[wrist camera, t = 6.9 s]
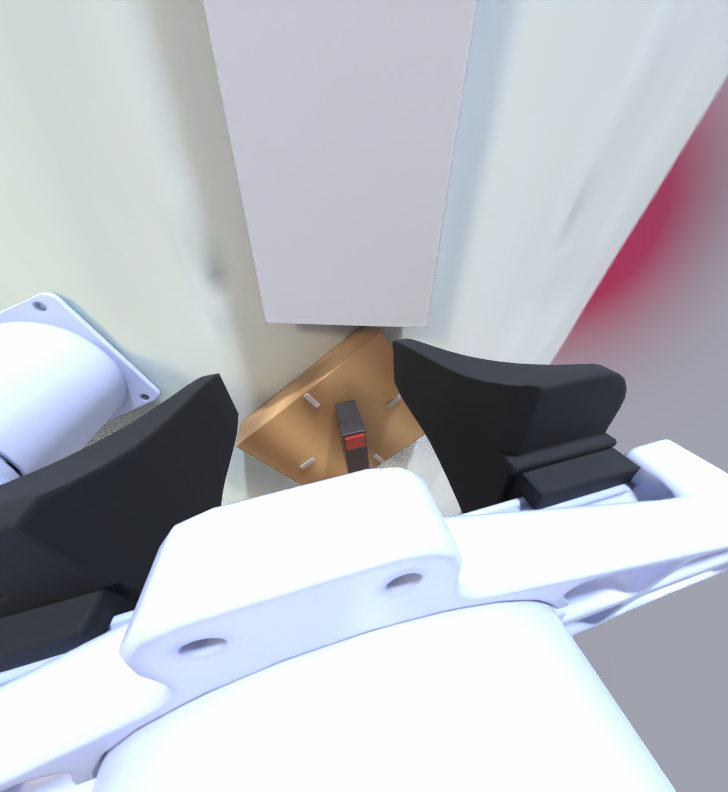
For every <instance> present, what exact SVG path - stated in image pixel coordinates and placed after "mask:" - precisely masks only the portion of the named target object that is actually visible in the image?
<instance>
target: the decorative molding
mask: <svg viewBox="0 0 728 792" xmlns="http://www.w3.org/2000/svg"><path fill="white" fill-rule="evenodd" d="M203 5H204V10H205V16H206V21H207V26H208V31H209V36H210V41H211V46H212V51H213V56H214V61H215V67H216V72H217V77H218V82H219V87H220V92H221V97H222V102H223V107H224V113H225V118H226V123H227V128H228V133H229V138H230V143H231V148H232V153H233V159H234V164H235V169H236V174H237V179H238V184H239V189H240V194H241V199H242V204H243V210H244V215H245V220H246V225H247V230H248V235H249V240H250V245H251V250H252V256H253V261H254V266H255V271H256V276H257V281H258V286H259V291H260V296H261V302H262V307H263V312H264V317H265V322H266V323H289V324H322V325H353V326H386V327H418V328H427V322H428V316H429V310H430V303H431V297H432V290H433V284H434V277H435V271H436V264H437V258H438V252H439V245H440V239H441V232H442V226H443V219H444V213H445V206H446V200H447V194H448V187H449V181H450V174H451V168H452V161H453V155H454V148H455V142H456V136H457V129H458V123H459V116H460V110H461V103H462V97H463V90H464V84H465V78H466V71H467V65H468V58H469V52H470V45H471V39H472V32H473V26H474V20H475V13H476V7H477V0H203Z"/></svg>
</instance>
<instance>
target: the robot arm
mask: <svg viewBox="0 0 728 792" xmlns="http://www.w3.org/2000/svg"><path fill="white" fill-rule="evenodd" d="M39 302H40V303H42V304H44V305H45V307H46V309H44V308H42V307H41V306H40V305H39ZM393 364H394V382H395V385H396V387H397V389H398V391H399V393H400V396H401V398H402V399H403V401H404V402H405V404H406V406H407V407H408V409H409V410H410V412H411V413H412V415H413V416H414V418H415V419H416V421H417V422H418V424H419V425H420V427H421V428H422V430H423V431H424V433H425V434H426V436H427V438H428V439H429V441H430V443H431V445H432V447H433V449H434V451H435V453H436V455H437V457H438V459H439V461H440V463H441V466H442V468H443V470H444V472H445V474H446V476H447V478H448V480H449V483H450V485H451V487H452V490H453V492H454V494H455V496H456V499H457V501H458V503H459V506H460V508H461V511H462V513H463V514H461V515H458V516H449V517H443V516H442V514H441V512H440V510H439V508H438V506H437V504H436V502H435V500H434V498H433V497H432V495H431V493H430V491H429V489H428V487H427V485H426V483H425V481H424V479H423V477H421V476H419V475H417V474H414V473H412V472H410V471H407V470H405V469H403V468H400V467H389V468H375V469H365V470H361V471H357V472H353V473H349V474H345V475H341V476H337V477H333V478H329V479H326V480H322V481H318V482H314V483H310V484H306V485H302V486H298V487H294V488H290V489H286V490H282V491H278V492H274V493H270V494H266V495H262V496H258V497H254V498H250V499H246V500H243V501H239V502H235V503H231V504H227V505H223V506H221V501H222V494H223V488H224V483H225V479H226V475H227V471H228V467H229V463H230V459H231V455H232V452H233V448H234V444H235V440H236V435H237V427H238V412H237V410H236V408H235V406H234V404H233V402H232V400H231V397H230V395H229V393H228V391H227V389H226V387H225V385H224V383H223V381H222V379H221V377H220V375H219V374H214V375H208V376H203V377H201V378H199V379H197V380H195V381H193V382H192V383H190V384H189V385H187V386H186V387H184V388H183V389H181V390H180V391H179V392H177V393H176V394H174V395H173V396H171V397H170V398H169V399H167V400H166V401H164V402H163V403H161V404H160V405H158V406H157V407H155V408H154V409H152V410H151V411H149V412H148V413H146V414H145V415H143V416H142V417H140V418H139V419H137V420H135V421H134V422H132V423H130V424H129V425H127V426H125V427H124V428H122V429H120V430H118V431H117V432H115V433H113V434H111V435H109V436H107V437H106V438H104V439H102V440H100V441H98V442H96V443H94V444H92V445H90V446H88V447H86V448H84V449H83V447H84V446H85V445H86V444H87V443H88V442H89V441H90V440H91V439H92V438H93V437H94V435H95V434H96V433H97V432H98V431H99V430H100V429H101V428H102V427H103V426H104V424H105V423H106V422H108V421H111V420H113V419H115V418H117V417H119V416H121V415H124V414H126V413H128V412H130V411H132V410H135V409H137V408H139V407H141V406H143V405H146V404H148V403H150V402H152V401H154V400H156V399H158V398H159V397H160V395H161V391H160V390H159V389H158V388H157V387H156V386H155V385H154V384H153V383H152V382H151V381H149V380H148V379H147V378H146V377H145V376H144V375H143V374H142V373H141V372H140V371H139V370H138V369H137V368H135V367H134V366H133V365H132V364H131V363H130V362H129V361H128V360H127V359H126V358H125V357H124V356H122V355H121V354H120V353H119V352H118V351H117V350H116V349H115V348H114V347H113V346H112V345H111V344H109V343H108V342H107V341H106V340H105V339H104V338H103V337H102V336H101V335H100V334H99V333H98V332H96V331H95V330H94V329H93V328H92V327H91V326H90V325H89V324H88V323H87V322H86V321H85V320H84V319H82V318H81V317H80V316H79V315H78V314H77V313H76V312H75V311H74V310H73V309H72V308H71V307H69V306H68V305H67V304H66V303H65V302H64V301H63V300H62V299H61V298H60V297H58V296H57V295H55V294H53V293H49V292H45V293H41V294H38V295H36V296H34V297H31V298H29V299H27V300H25V301H23V302H21V303H19V304H17V305H14V306H12V307H10V308H8V309H6V310H4V311H2V312H0V792H676V791H675V789H674V788H673V786H672V785H671V783H670V782H669V780H668V779H667V777H666V776H665V775H664V773H663V772H662V770H661V769H660V767H659V766H658V764H657V763H656V761H655V760H654V758H653V757H652V755H651V754H650V752H649V751H648V749H647V748H646V747H645V745H644V743H643V742H642V740H641V739H640V737H639V736H638V735H637V733H636V732H635V730H634V729H633V727H632V726H631V724H630V723H629V721H628V720H627V718H626V717H625V715H624V714H623V712H622V711H621V709H620V708H619V706H618V705H617V704H616V702H615V700H614V699H613V697H612V696H611V695H610V693H609V692H608V690H607V689H606V687H605V686H604V684H603V683H602V681H601V680H600V678H599V677H598V675H597V674H596V672H595V671H594V669H593V668H592V666H591V665H590V663H589V662H588V661H587V659H586V657H585V656H584V655H583V653H582V652H581V650H580V649H579V647H578V646H577V644H576V643H575V641H574V640H573V638H572V637H571V636H573V635H576V634H578V633H580V632H582V631H585V630H587V629H589V628H592V627H594V626H596V625H599V624H601V623H603V622H605V621H608V620H610V619H612V618H614V617H617V616H619V615H621V614H624V613H626V612H628V611H631V610H633V609H635V608H637V607H640V606H642V605H644V604H647V603H649V602H652V601H654V600H656V599H659V598H661V597H663V596H666V595H668V594H671V593H673V592H676V591H678V590H680V589H683V588H685V587H687V586H690V585H693V584H695V583H697V582H700V581H703V580H705V579H708V578H710V577H713V576H716V575H718V574H721V573H723V572H724V571H726V570H728V474H727V473H725V472H724V471H722V470H720V469H719V468H717V467H715V466H713V465H711V464H710V463H708V462H706V461H705V460H703V459H701V458H699V457H698V456H696V455H694V454H693V453H691V452H689V451H687V450H685V449H684V448H682V447H680V446H679V445H677V444H675V443H674V442H672V441H670V440H661V441H657V442H653V443H650V444H646V445H643V446H639V447H636V448H633V449H631V450H629V451H628V452H626V453H625V454H624V455H622V454H621V453H620V452H618V451H617V450H615V449H614V448H613V447H612V446H615V444H616V443H617V442H616V439H614V438H613V437H611V436H610V435H608V434H607V433H605V432H606V430H607V429H608V427H609V425H610V424H611V422H612V420H613V419H614V417H615V415H616V414H617V412H618V410H619V409H620V407H621V404H622V403H623V401H624V398H625V394H626V383H625V379H624V378H623V377H622V376H621V375H620V374H618V373H616V372H614V371H612V370H610V369H608V368H606V367H603V366H601V365H597V364H575V365H574V364H573V365H536V364H518V363H508V362H498V361H491V360H485V359H479V358H474V357H469V356H465V355H461V354H457V353H453V352H450V351H446V350H443V349H440V348H437V347H434V346H431V345H428V344H425V343H422V342H419V341H415V340H412V339H401V340H395V341H393ZM143 394H144V395H147V396H148V397H149V398H147V397H144V396H143Z"/></svg>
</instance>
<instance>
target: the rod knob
mask: <svg viewBox="0 0 728 792" xmlns="http://www.w3.org/2000/svg"><path fill="white" fill-rule="evenodd" d="M335 409H336V415H337V420H338V426H339V431H340V437H341V442H342V448H343V453H344V459H345V464H346V468H347V472H348V474H349V473H353V472H357V471H361V470H365V469H370V467H369V457H368V448H367V438H366V430H365V427H364V424H363V421H362V419H361V416H360V413H359V410H358V408H357V405H356V402H355V401H349V402H344V403H339V404H335Z"/></svg>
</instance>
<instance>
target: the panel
mask: <svg viewBox="0 0 728 792" xmlns="http://www.w3.org/2000/svg"><path fill="white" fill-rule="evenodd" d="M349 401H355V402H356V405H357V408H358V410H359V413H360V416H361V419H362V421H363V424H364V427H365V430H366V438H367V448H368V457H369V467H370V469H374V468H375V467H377V466H378V465H380V464H382V463H384V462H385V461H386V460H387V459H389V458H390V457H392V456H393V455H395V454H396V453H398V452H399V451H401V450H402V449H404V448H405V447H407V446H408V445H410V444H411V443H413V442H414V441H416V440H417V439H419V438H420V437H422V436H423V435H424V434H425V433H424V431H423V430H422V428H421V427H420V425H419V424H418V422H417V421H416V419H415V418H414V416H413V415H412V413H411V412H410V410H409V409H408V407H407V406H406V404H405V402H404V401H403V399H402V398H401V396H400V393H399V391H398V389H397V387H396V385H395V382H394V364H393V347H392V345H391V344H390V343H389V341H388V340H387V338H386V337H385V336H384V334H383V333H382V332H381V330H380V329H379V328H378V327H377V326H361V327H360V328H359V329H358V330H356V331H355V332H354V333H353V334H351V335H350V336H349V337H348V338H346V339H345V340H344V341H343V342H341V343H340V344H339V345H338V346H336V347H335V348H334V349H333V350H331V351H330V352H329V353H328V354H326V355H325V356H324V357H323V358H321V359H320V360H319V361H318V362H316V363H315V364H314V365H313V366H311V367H310V368H309V369H308V370H306V371H305V372H304V373H303V374H301V375H300V376H299V377H298V378H296V379H295V380H294V381H293V382H291V383H290V384H289V385H288V386H286V387H285V388H284V389H283V390H281V391H280V392H279V393H278V394H276V395H275V396H274V397H273V398H271V399H270V400H269V401H268V402H266V403H265V404H264V405H263V406H261V407H260V408H259V409H258V410H256V411H255V412H254V413H253V414H251V415H250V416H249V417H248V418H246V419H245V420H244V421H242V423H241V427H240V431H239V435H238V439H237V443H236V447H238V448H239V449H241V450H243V451H245V452H246V453H248V454H250V455H252V456H253V457H255V458H257V459H258V460H260V461H262V462H264V463H265V464H267V465H269V466H270V467H272V468H274V469H276V470H277V471H279V472H281V473H283V474H284V475H286V476H288V477H289V478H291V479H293V480H295V481H296V482H298V483H300V484H301V485H306V484H310V483H314V482H318V481H322V480H326V479H329V478H333V477H337V476H341V475H345V474H348V472H347V468H346V464H345V459H344V453H343V448H342V442H341V437H340V431H339V426H338V420H337V415H336V409H335V404H339V403H344V402H349Z"/></svg>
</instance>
